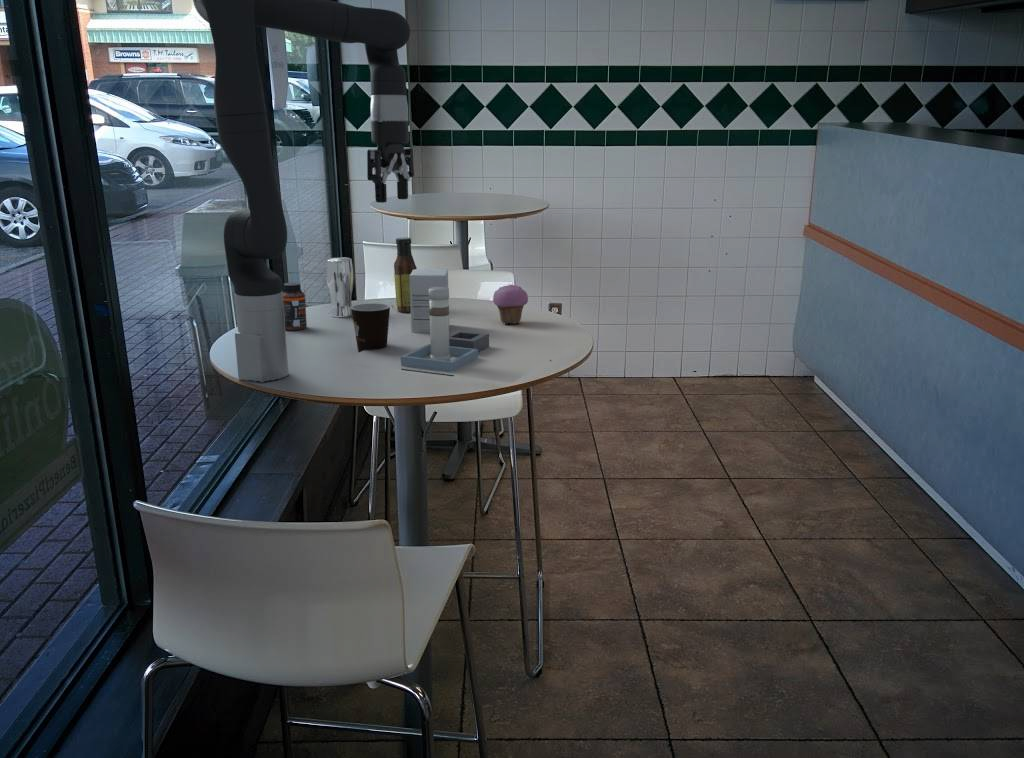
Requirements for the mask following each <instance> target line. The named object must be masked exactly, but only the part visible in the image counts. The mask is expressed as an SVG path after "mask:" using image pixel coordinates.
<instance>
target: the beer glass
mask: <svg viewBox="0 0 1024 758" xmlns="http://www.w3.org/2000/svg"><path fill="white" fill-rule="evenodd" d="M325 261H326V265H325V266H326V268H325V270H326V272H325V273H326V284H327V288H328V293H329V296H330V303H331V306H330V317H332V318H338V317H343V318H349V316H350V317H352V312H351V307H352V306H353V305H352V296H353V295H352V294H353V287H354V269H353V268H354V267H353V261H352V258H350V257H330V258H327V259H326V260H325Z"/></svg>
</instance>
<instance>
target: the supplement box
mask: <svg viewBox="0 0 1024 758" xmlns="http://www.w3.org/2000/svg"><path fill="white" fill-rule="evenodd" d="M409 277H410V306H411V312H410V330H411V331H410V332H411V333H418V334H419V333H430V315H429V288H431V287H447V288H449V270H448V269H427V268H426V269H425V268H424V269H421V268H417V269H415V270H413V271H412V272H411V274H410V276H409Z"/></svg>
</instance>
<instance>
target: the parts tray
mask: <svg viewBox="0 0 1024 758" xmlns="http://www.w3.org/2000/svg"><path fill="white" fill-rule="evenodd" d="M449 347H450V357H456V358H454V359H452V360H450V361H444V360H435V359H430V358H425V357H426V356H429V355H430V354H431V350H430V343H427V344H425V345H423V346H421V347H418V348H416V349H414V350H412V351H410V352H408V353H406V354H403V355H401V356H400V366H402V367H408V368H419V369H427V370H428V369H429V370H432V371H434V370H435V371H440V372H441V371H442V372H450V373H453V372H455V371H457V370H459V369H461V368H463V367H464V366H466V365H468V364H469V363H471V362H472V363H473V362H474V361H475V360H477V359H479V352H478V349H471V348H462V347H453V346H449ZM400 370H401V371H406V372H413V373H414V372H416V373H422V374H430V375H436V376H437V375H438V376H439V375H440V376H447V377H454V376H455V374H448V373H440V372H439V373H438V372H431V371H423V370H415V369H407V368H401V369H400Z"/></svg>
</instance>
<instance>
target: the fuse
mask: <svg viewBox="0 0 1024 758" xmlns="http://www.w3.org/2000/svg"><path fill="white" fill-rule="evenodd" d="M449 301H450V288H449V287H448V288H447V287H431V288H429V315H430V332H429V338H430V339H429V340H430V341H429V344H430V350H431V354H429V359H435V360H444V361H451V356H450V347H449V334H450V302H449Z"/></svg>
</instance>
